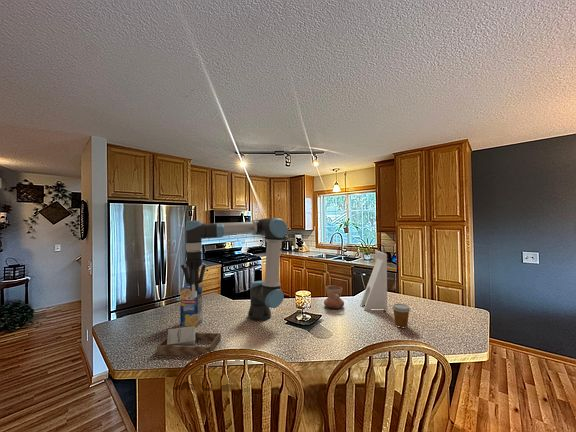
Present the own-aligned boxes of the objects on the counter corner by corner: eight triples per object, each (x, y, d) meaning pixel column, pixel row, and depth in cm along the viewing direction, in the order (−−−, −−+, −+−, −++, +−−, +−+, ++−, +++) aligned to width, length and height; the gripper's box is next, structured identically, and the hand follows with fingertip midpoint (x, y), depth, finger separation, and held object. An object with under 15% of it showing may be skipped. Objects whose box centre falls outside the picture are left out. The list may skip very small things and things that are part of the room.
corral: (220, 340, 135) (220, 332, 135) (210, 355, 120) (210, 347, 120) (173, 339, 136) (173, 331, 136) (156, 354, 121) (156, 346, 121)
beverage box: (197, 326, 153) (197, 289, 153) (180, 325, 153) (180, 289, 154) (202, 321, 160) (202, 286, 160) (185, 321, 160) (185, 286, 160)
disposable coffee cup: (410, 324, 154) (409, 304, 154) (410, 331, 145) (410, 309, 145) (393, 321, 158) (392, 302, 158) (392, 328, 149) (392, 307, 149)
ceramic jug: (347, 310, 177) (347, 290, 177) (327, 311, 175) (327, 290, 176) (339, 302, 195) (339, 284, 195) (321, 303, 193) (321, 284, 194)
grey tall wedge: (357, 303, 193) (357, 250, 193) (376, 303, 193) (376, 250, 193) (366, 313, 173) (365, 254, 173) (387, 312, 173) (386, 253, 173)
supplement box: (195, 340, 125) (166, 345, 121) (195, 344, 131) (168, 349, 126) (195, 325, 130) (167, 329, 125) (195, 329, 135) (169, 333, 131)
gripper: (209, 249, 133) (209, 294, 133) (184, 250, 134) (185, 294, 134) (203, 251, 125) (204, 299, 125) (177, 252, 126) (178, 299, 126)
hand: (194, 297), depth 129 cm, fingers closed
